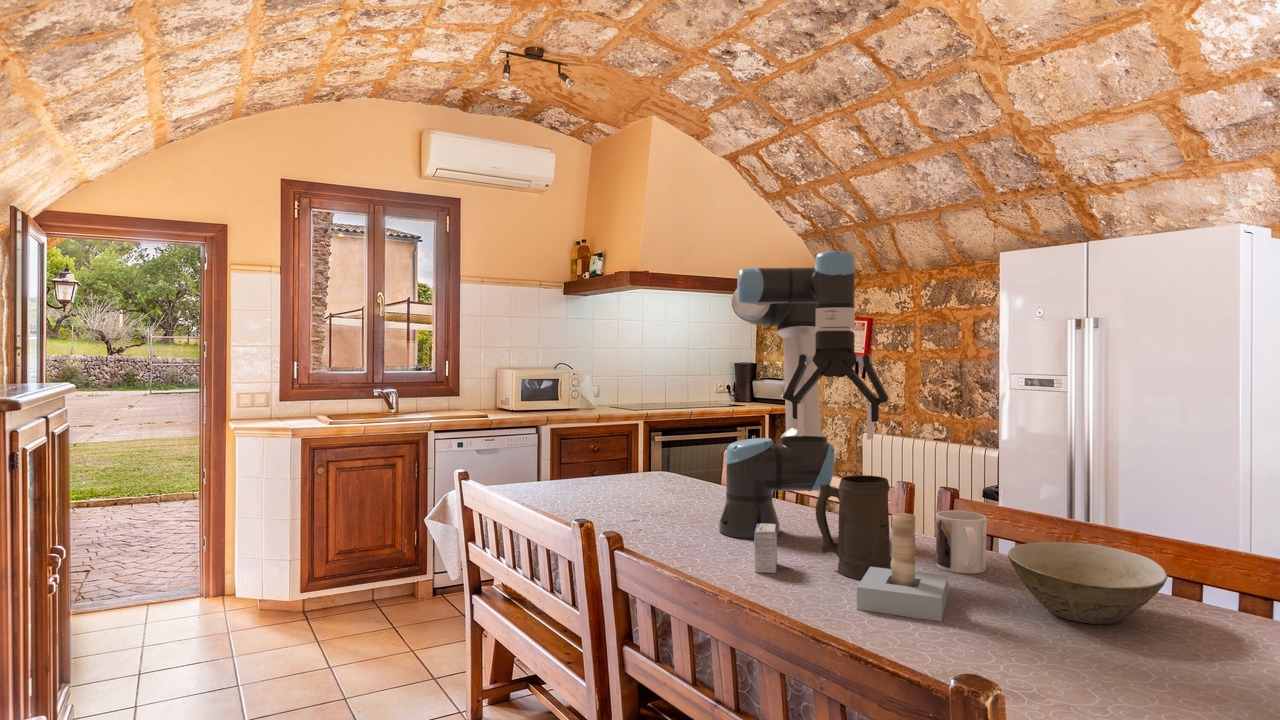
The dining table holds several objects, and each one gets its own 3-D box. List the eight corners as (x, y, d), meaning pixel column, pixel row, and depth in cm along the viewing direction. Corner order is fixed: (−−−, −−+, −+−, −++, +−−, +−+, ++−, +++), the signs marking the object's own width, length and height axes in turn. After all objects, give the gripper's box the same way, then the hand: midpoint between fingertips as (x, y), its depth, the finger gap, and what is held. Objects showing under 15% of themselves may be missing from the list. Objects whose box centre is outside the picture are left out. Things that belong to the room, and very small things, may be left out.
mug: (996, 567, 162) (996, 515, 162) (975, 580, 153) (976, 524, 153) (946, 558, 169) (946, 508, 169) (924, 569, 160) (924, 517, 160)
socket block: (870, 587, 149) (870, 566, 149) (947, 597, 143) (947, 575, 142) (856, 609, 136) (856, 586, 136) (941, 621, 130) (941, 597, 130)
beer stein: (896, 568, 161) (889, 473, 161) (895, 582, 151) (888, 481, 151) (821, 566, 166) (815, 474, 166) (816, 580, 156) (809, 482, 156)
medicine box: (776, 574, 158) (776, 532, 157) (754, 573, 158) (754, 531, 158) (777, 563, 165) (777, 523, 165) (756, 562, 166) (756, 522, 166)
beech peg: (893, 598, 142) (893, 512, 142) (916, 601, 140) (916, 514, 140) (890, 605, 138) (890, 516, 138) (913, 608, 137) (913, 518, 136)
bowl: (1171, 652, 117) (1171, 586, 116) (999, 623, 129) (1000, 564, 129) (1163, 607, 137) (1163, 551, 136) (1015, 586, 149) (1016, 534, 149)
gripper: (768, 330, 154) (768, 436, 154) (898, 328, 143) (897, 442, 143) (778, 331, 161) (778, 432, 161) (903, 329, 150) (903, 438, 150)
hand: (834, 437), depth 152 cm, fingers open, 13 cm apart
